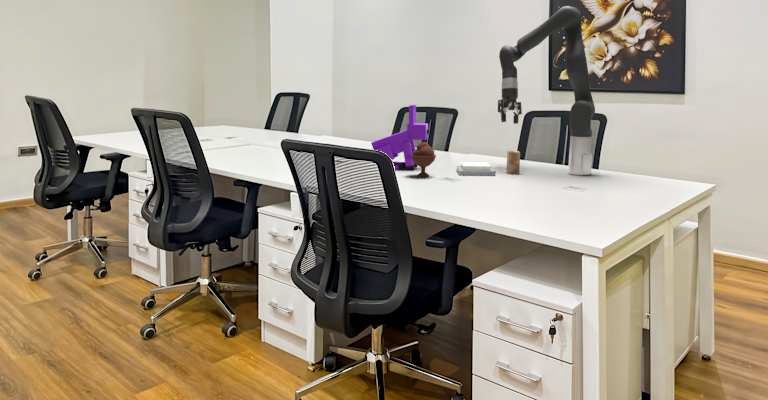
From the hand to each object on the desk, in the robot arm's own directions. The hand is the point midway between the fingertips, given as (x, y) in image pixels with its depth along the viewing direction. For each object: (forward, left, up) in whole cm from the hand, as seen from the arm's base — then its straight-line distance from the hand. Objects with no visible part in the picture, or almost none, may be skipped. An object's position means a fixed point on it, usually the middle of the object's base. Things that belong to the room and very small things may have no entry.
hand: (509, 122), depth 301 cm
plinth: (0, +22, -22) cm, 31 cm away
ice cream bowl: (+6, +48, -22) cm, 53 cm away
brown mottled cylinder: (-10, +8, -22) cm, 26 cm away
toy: (+32, +41, -22) cm, 57 cm away
